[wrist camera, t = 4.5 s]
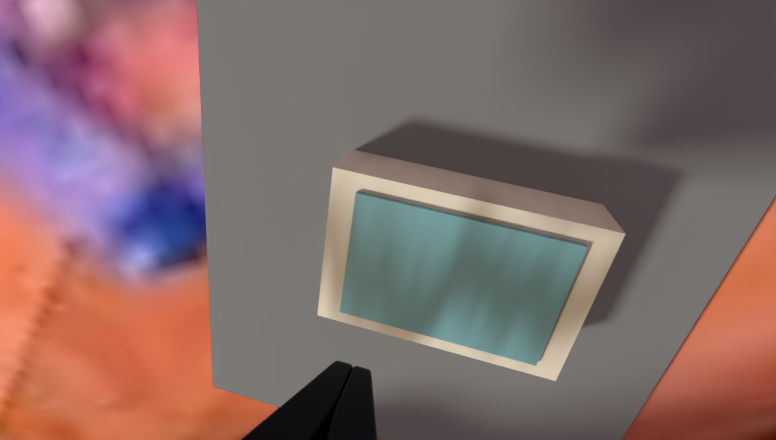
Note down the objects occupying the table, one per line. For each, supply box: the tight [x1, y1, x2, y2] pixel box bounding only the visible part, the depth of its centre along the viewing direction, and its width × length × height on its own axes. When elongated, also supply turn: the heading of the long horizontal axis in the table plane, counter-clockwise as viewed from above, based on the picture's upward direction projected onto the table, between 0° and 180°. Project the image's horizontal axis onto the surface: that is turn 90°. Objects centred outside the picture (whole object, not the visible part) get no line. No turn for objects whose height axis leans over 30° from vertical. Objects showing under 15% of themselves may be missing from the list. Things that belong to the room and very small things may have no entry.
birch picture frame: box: [317, 150, 625, 381], centre depth 14 cm, size 6×3×9 cm
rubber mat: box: [196, 0, 776, 440], centre depth 16 cm, size 24×20×1 cm
